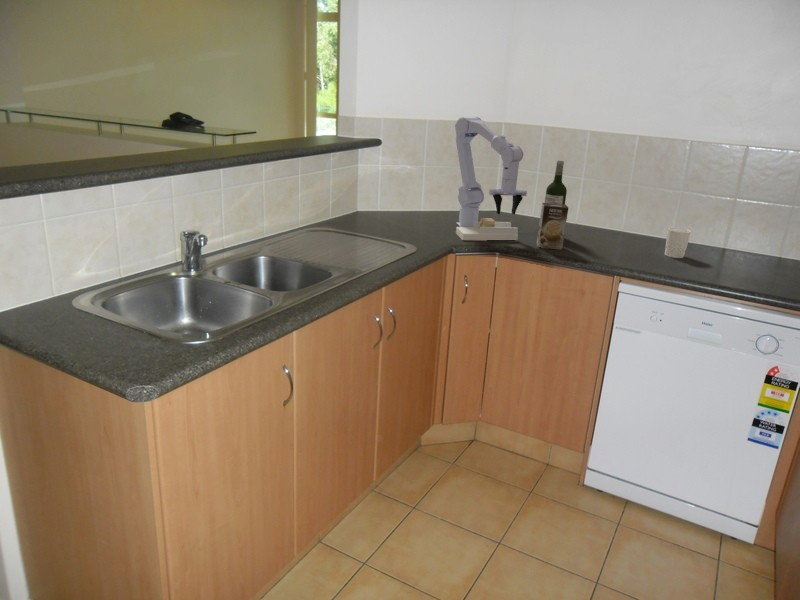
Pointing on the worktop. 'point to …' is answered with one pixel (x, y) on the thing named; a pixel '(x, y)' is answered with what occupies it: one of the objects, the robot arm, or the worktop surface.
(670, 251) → the white cup
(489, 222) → the block
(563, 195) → the wine bottle
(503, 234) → the white tray
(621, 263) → the worktop surface
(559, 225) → the coffee box
